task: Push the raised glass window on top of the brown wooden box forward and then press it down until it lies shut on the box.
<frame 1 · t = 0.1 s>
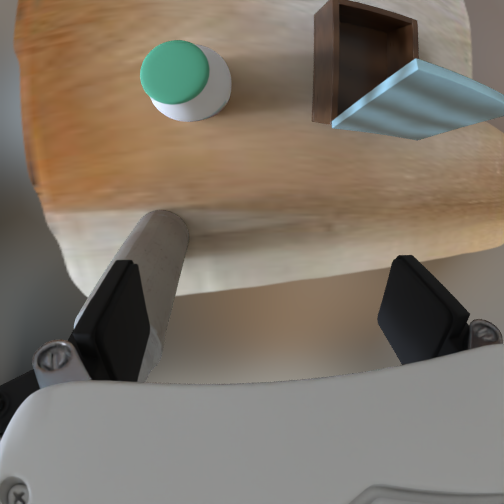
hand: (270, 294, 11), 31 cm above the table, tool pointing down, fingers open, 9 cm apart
thermos bottle: (162, 235, 43), on the table
glass window: (417, 112, 22), point 16 cm above the table, hinge at 72.0°
milk bottle: (200, 90, 34), on the table
brown wooden box: (353, 71, 34), on the table
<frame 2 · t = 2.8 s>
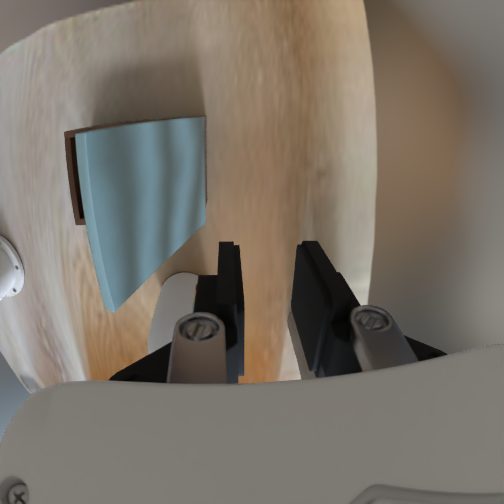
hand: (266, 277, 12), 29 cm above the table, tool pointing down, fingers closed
thermos bottle: (310, 318, 50), on the table
glass window: (160, 191, 23), point 16 cm above the table, hinge at 72.0°
milk bottle: (186, 291, 46), on the table
brown wooden box: (147, 161, 37), on the table
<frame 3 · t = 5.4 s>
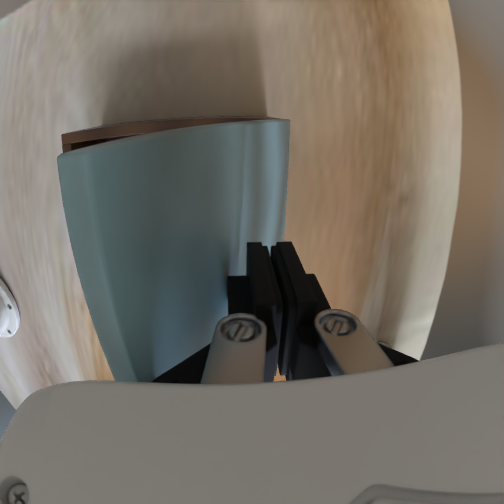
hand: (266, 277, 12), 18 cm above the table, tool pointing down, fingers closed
glass window: (241, 253, 13), point 16 cm above the table, hinge at 69.2°
brown wooden box: (182, 177, 27), on the table
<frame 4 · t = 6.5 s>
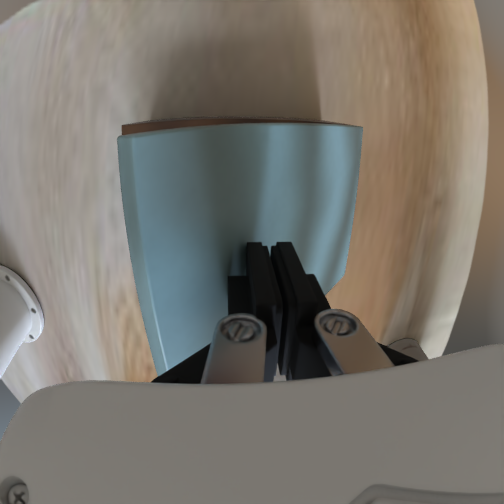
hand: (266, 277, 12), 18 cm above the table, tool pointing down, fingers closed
thermos bottle: (396, 356, 41), on the table
glass window: (290, 240, 15), point 14 cm above the table, hinge at 48.3°, touching gripper
brown wooden box: (235, 176, 28), on the table
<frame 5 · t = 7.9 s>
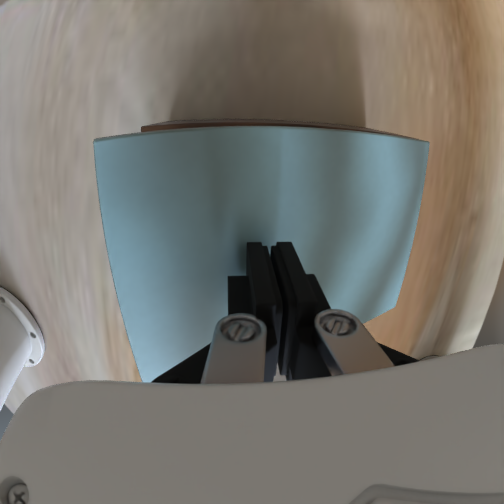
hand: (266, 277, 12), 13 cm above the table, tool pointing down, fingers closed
glass window: (309, 256, 14), point 12 cm above the table, hinge at 23.8°
brown wooden box: (269, 190, 24), on the table
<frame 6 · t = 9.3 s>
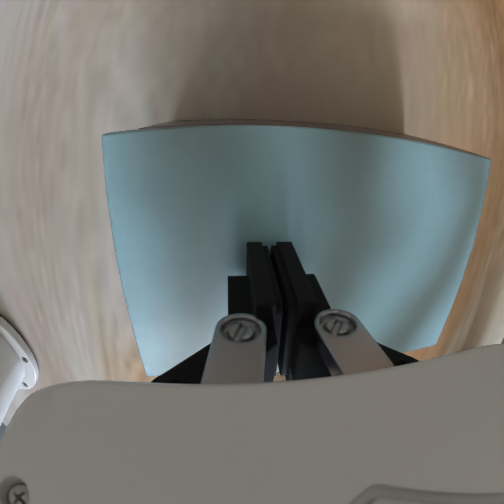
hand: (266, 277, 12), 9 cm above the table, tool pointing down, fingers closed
glass window: (324, 268, 12), point 9 cm above the table, hinge at 2.1°, touching gripper
brown wooden box: (294, 205, 20), on the table
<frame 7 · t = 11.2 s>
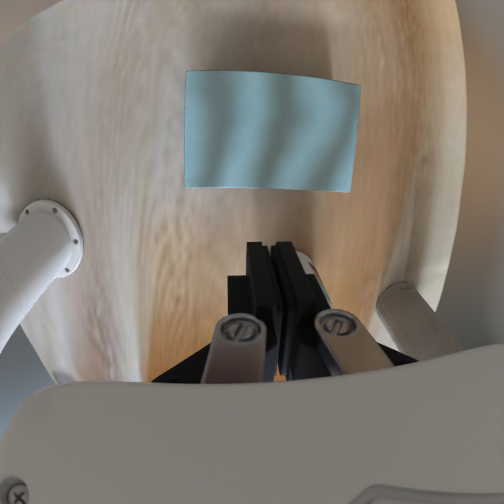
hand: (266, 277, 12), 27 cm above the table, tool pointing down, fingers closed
thermos bottle: (395, 301, 48), on the table
glass window: (274, 130, 27), point 9 cm above the table, hinge at 2.0°
milk bottle: (287, 271, 44), on the table
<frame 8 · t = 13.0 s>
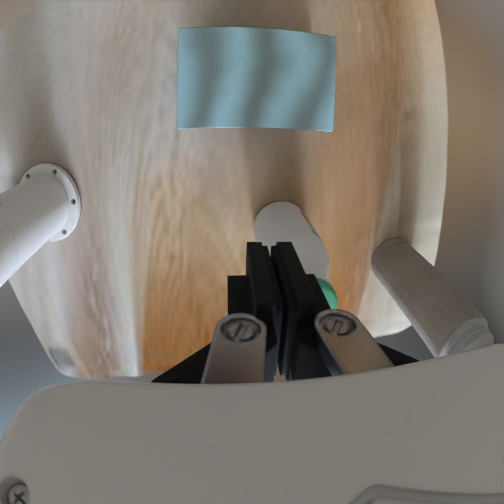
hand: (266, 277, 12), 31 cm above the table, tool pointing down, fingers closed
thermos bottle: (391, 258, 49), on the table
glass window: (258, 76, 28), point 9 cm above the table, hinge at 2.0°
milk bottle: (279, 224, 45), on the table
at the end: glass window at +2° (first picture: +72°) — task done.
